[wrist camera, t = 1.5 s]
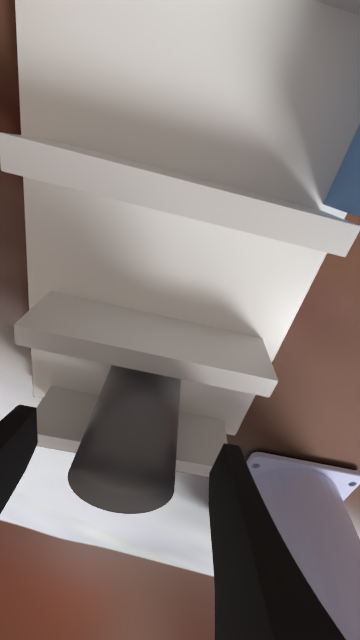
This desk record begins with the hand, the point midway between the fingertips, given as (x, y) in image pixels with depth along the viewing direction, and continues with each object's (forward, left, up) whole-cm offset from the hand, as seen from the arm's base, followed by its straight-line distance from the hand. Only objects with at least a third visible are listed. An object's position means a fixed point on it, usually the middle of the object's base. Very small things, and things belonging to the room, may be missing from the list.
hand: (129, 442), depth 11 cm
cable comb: (+6, 0, -5) cm, 8 cm away
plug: (0, 0, -4) cm, 4 cm away
